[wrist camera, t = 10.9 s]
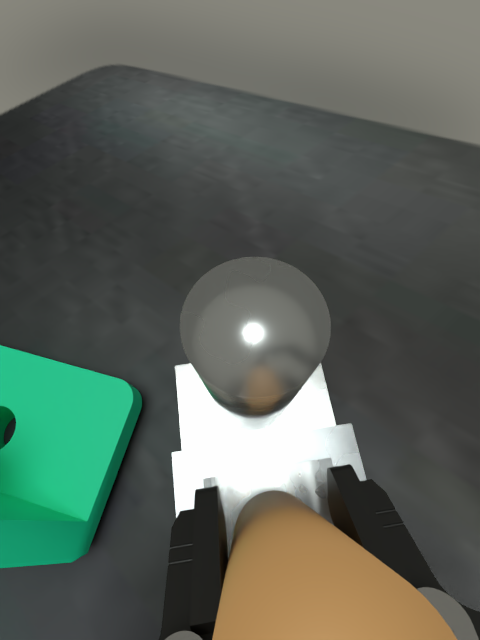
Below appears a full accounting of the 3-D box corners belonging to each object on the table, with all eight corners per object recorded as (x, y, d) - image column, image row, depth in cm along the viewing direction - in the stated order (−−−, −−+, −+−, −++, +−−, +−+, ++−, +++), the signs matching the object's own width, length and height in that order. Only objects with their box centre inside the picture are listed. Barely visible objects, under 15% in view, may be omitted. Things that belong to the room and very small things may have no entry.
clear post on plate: (379, 614, 15) (625, 907, 5) (200, 647, 15) (104, 1021, 5) (314, 347, 20) (378, 238, 10) (177, 368, 19) (104, 277, 10)
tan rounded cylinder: (279, 472, 15) (341, 495, 5) (337, 545, 14) (558, 757, 4) (216, 530, 15) (144, 690, 4) (271, 612, 13) (345, 1084, 3)
